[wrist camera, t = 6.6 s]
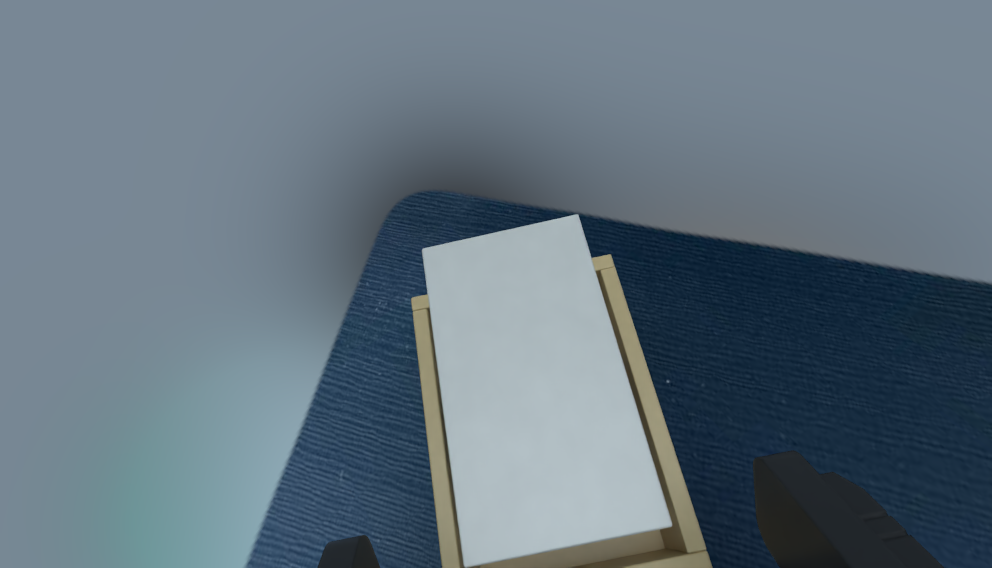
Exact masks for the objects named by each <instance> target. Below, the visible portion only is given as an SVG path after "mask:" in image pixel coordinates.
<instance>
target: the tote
mask: <svg viewBox="0 0 992 568" xmlns="http://www.w3.org/2000/svg"><path fill="white" fill-rule="evenodd" d="M592 261H593V265H594V268H595V271H596V275H597V278H598V281H599V284H600V288H601V291H602V294H603V298H604V301H605V304H606V307H607V311H608V314H609V317H610V321H611V324H612V327H613V330H614V334H615V337H616V340H617V344H618V347H619V350H620V353H621V357H622V360H623V363H624V367H625V370H626V373H627V376H628V380H629V383H630V386H631V390H632V393H633V396H634V399H635V403H636V406H637V409H638V413H639V416H640V419H641V422H642V426H643V429H644V432H645V435H646V439H647V442H648V445H649V449H650V452H651V455H652V458H653V462H654V465H655V468H656V472H657V475H658V478H659V481H660V485H661V488H662V491H663V495H664V498H665V501H666V504H667V508H668V511H669V514H670V518H671V521H672V527H670V528H665V529H660V530H655V531H650V532H645V533H640V534H635V535H630V536H625V537H620V538H615V539H610V540H605V541H600V542H595V543H590V544H585V545H580V546H575V547H570V548H565V549H560V550H555V551H550V552H545V553H540V554H535V555H530V556H524V557H519V558H514V559H509V560H504V561H499V562H494V563H489V564H484V565H479V566H474V567H469V568H712V565H711V561H710V558H709V555H708V552H707V551H705V550H706V546H705V542H704V539H703V536H702V533H701V530H700V527H699V524H698V521H697V518H696V515H695V512H694V509H693V506H692V503H691V499H690V496H689V493H688V490H687V487H686V484H685V481H684V478H683V475H682V472H681V469H680V466H679V463H678V460H677V456H676V453H675V450H674V447H673V444H672V441H671V438H670V435H669V432H668V429H667V426H666V423H665V420H664V417H663V413H662V410H661V407H660V404H659V401H658V398H657V395H656V392H655V389H654V386H653V383H652V380H651V377H650V373H649V370H648V367H647V364H646V361H645V358H644V355H643V352H642V349H641V346H640V343H639V340H638V337H637V334H636V330H635V327H634V324H633V321H632V318H631V315H630V312H629V309H628V306H627V303H626V300H625V297H624V294H623V291H622V287H621V284H620V281H619V278H618V275H617V272H616V269H615V267H614V263H613V260H612V257H611V255H610V254H609V255H605V256H600V257H595V258H592ZM411 303H412V310H413V319H414V328H415V336H416V345H417V354H418V362H419V371H420V380H421V389H422V397H423V406H424V415H425V423H426V432H427V441H428V449H429V458H430V467H431V476H432V484H433V493H434V502H435V510H436V519H437V528H438V536H439V545H440V554H441V562H442V568H465V567H464V565H463V558H462V550H461V542H460V535H459V527H458V520H457V512H456V505H455V497H454V489H453V482H452V474H451V467H450V459H449V451H448V444H447V436H446V429H445V421H444V414H443V406H442V398H441V391H440V383H439V376H438V368H437V361H436V353H435V345H434V338H433V330H432V323H431V315H430V307H429V300H428V294H427V295H422V296H418V297H413V298H411Z"/></svg>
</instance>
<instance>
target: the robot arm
mask: <svg viewBox="0 0 992 568" xmlns="http://www.w3.org/2000/svg"><path fill="white" fill-rule="evenodd" d="M753 472H754V488H755V504H756V518H757V523H758V527H759V530H760V533H761V535H762V538H763V540H764V542H765V544H766V546H767V548H768V550H769V551H770V553H771V554H772V556H773V557H774V559H775V560H776V562H777V564H778V565H779V567H780V568H944V567H943V566H942V565H941V564H940V563H939V562H938V561H937V560H936V559H935V558H934V557H933V556H932V555H931V554H930V553H929V552H928V551H927V550H926V549H925V548H923V547H922V546H921V545H920V544H919V543H918V542H917V541H916V540H915V539H914V538H913V537H912V536H911V535H910V536H909V535H908V534H907V533H906V530H905V529H904V528H903V527H902V526H901V525H900V524H899V523H898V522H897V521H896V520H895V519H894V518H893V517H892V516H888V515H887V513H886V510H884V509H883V508H882V507H881V506H880V505H879V504H878V503H877V502H876V501H875V500H874V499H873V498H872V497H871V496H870V495H869V494H868V493H867V492H866V491H865V490H864V489H863V488H861V487H859V486H857V485H856V484H854V483H852V482H850V481H848V480H847V479H845V478H843V477H841V476H839V475H838V474H836V473H834V472H830V473H825V474H819V473H818V472H817V471H816V470H815V469H814V468H813V467H812V466H811V465H810V464H809V463H808V462H807V461H806V460H805V459H804V458H803V456H801V455H800V454H799V453H798V452H796V451H787V452H782V453H777V454H772V455H767V456H762V457H757V458H755V459H754V462H753ZM318 568H380V566H379V563H378V561H377V558H376V555H375V553H374V550H373V548H372V545H371V542H370V540H369V539H368V537H367V536H365V535H362V536H357V537H352V538H347V539H342V540H337V541H332V542H329V543H328V544H327V545H326V547H325V549H324V551H323V554H322V557H321V560H320V562H319V565H318Z"/></svg>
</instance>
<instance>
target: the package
mask: <svg viewBox="0 0 992 568" xmlns="http://www.w3.org/2000/svg"><path fill="white" fill-rule="evenodd" d="M422 254H423V262H424V270H425V277H426V285H427V292H428V300H429V307H430V315H431V323H432V330H433V338H434V345H435V353H436V361H437V368H438V376H439V383H440V391H441V398H442V406H443V414H444V421H445V429H446V436H447V444H448V451H449V459H450V467H451V474H452V482H453V489H454V497H455V505H456V512H457V520H458V527H459V535H460V542H461V550H462V558H463V565H464V567H465V568H469V567H474V566H479V565H484V564H489V563H494V562H499V561H504V560H509V559H514V558H519V557H524V556H530V555H535V554H540V553H545V552H550V551H555V550H560V549H565V548H570V547H575V546H580V545H585V544H590V543H595V542H600V541H605V540H610V539H615V538H620V537H625V536H630V535H635V534H640V533H645V532H650V531H655V530H660V529H665V528H670V527H672V521H671V518H670V514H669V511H668V508H667V504H666V501H665V498H664V495H663V491H662V488H661V485H660V481H659V478H658V475H657V472H656V468H655V465H654V462H653V458H652V455H651V452H650V449H649V445H648V442H647V439H646V435H645V432H644V429H643V426H642V422H641V419H640V416H639V413H638V409H637V406H636V403H635V399H634V396H633V393H632V390H631V386H630V383H629V380H628V376H627V373H626V370H625V367H624V363H623V360H622V357H621V353H620V350H619V347H618V344H617V340H616V337H615V334H614V330H613V327H612V324H611V321H610V317H609V314H608V311H607V307H606V304H605V301H604V298H603V294H602V291H601V288H600V284H599V281H598V278H597V275H596V271H595V268H594V265H593V261H592V258H591V255H590V252H589V248H588V245H587V242H586V238H585V235H584V232H583V229H582V225H581V222H580V219H579V216H578V215H572V216H568V217H563V218H559V219H554V220H550V221H545V222H541V223H536V224H532V225H527V226H523V227H518V228H514V229H509V230H505V231H500V232H496V233H491V234H487V235H482V236H478V237H473V238H469V239H464V240H460V241H455V242H451V243H446V244H442V245H437V246H433V247H428V248H424V249H422Z"/></svg>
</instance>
